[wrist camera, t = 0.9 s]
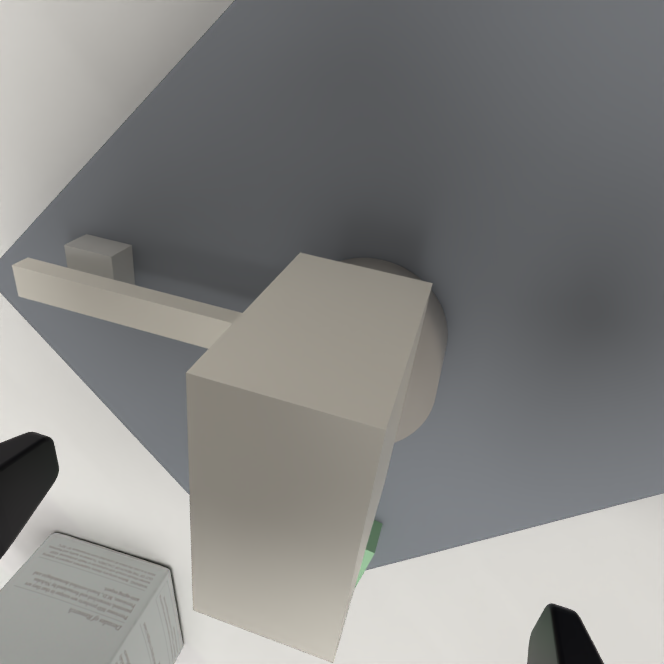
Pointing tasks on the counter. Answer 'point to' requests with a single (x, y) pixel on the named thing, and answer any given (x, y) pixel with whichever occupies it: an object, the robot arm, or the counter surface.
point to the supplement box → (88, 608)
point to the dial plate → (405, 235)
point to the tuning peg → (284, 426)
